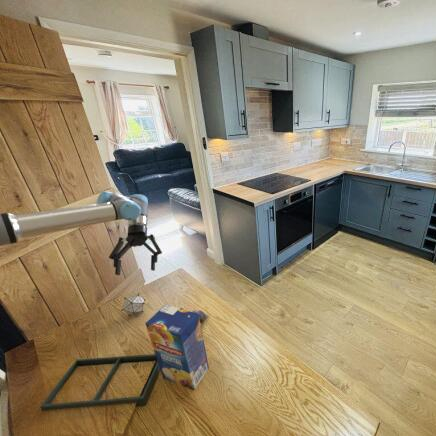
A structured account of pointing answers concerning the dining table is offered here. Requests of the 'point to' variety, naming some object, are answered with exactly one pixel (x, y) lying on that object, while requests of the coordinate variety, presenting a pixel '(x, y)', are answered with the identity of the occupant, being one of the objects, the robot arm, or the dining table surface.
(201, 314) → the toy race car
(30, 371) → the dining table surface
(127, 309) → the game die
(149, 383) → the grid
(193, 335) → the juice carton
